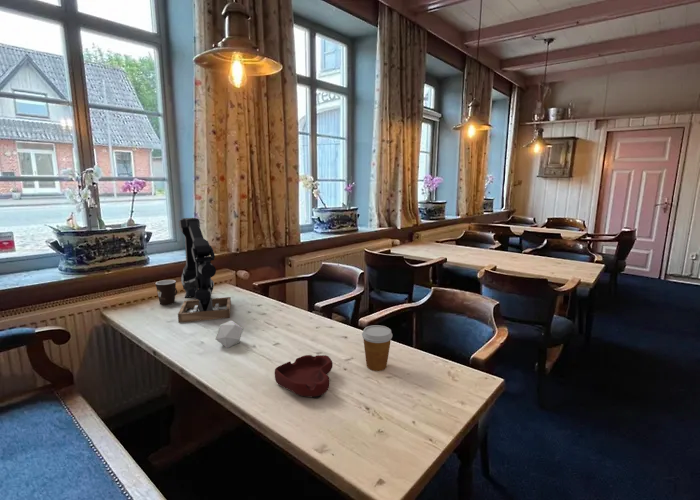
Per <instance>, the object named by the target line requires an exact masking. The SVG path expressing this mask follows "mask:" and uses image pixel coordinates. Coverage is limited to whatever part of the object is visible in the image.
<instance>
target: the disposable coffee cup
mask: <svg viewBox="0 0 700 500" xmlns="http://www.w3.org/2000/svg"><path fill="white" fill-rule="evenodd" d="M361 336H362V337H361V338H362V339H363V345H364V355H365V363H366V364H365V365H366V368H367V369H368V370H370V371H372V372H382V371H385V370H386V369H387V367H388V361H389V353H390V349H391V348H390V347H391V342H392V339H393V333H392V329H391V328H389V327H387V326H385V325H379V324H377V325H368V326H366V327H365V328H364V329H363V331H362V332H361Z"/></svg>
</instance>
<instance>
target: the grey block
mask: <svg viewBox="0 0 700 500" xmlns="http://www.w3.org/2000/svg"><path fill="white" fill-rule="evenodd" d="M212 299H213V298H212V297H211V298H210V301H209V304H208V308H207V311H212V310H214V309H213V305H212ZM201 311H204V310H203V308H202V305H201V302H200V300H199V308H198V312H201Z"/></svg>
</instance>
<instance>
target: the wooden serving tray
mask: <svg viewBox="0 0 700 500" xmlns="http://www.w3.org/2000/svg"><path fill="white" fill-rule="evenodd" d="M212 305H213V307H214V309H213V310H212V311H201V312H199V300H198V299H190V300H184V301H183V303H182V305H181V307H180V309H179V311H178V313H177V320H178V323H187V322H198V321H199V322H200V321H209V320H220V319H221V320H222V319H230V317H231V306H232V299H231V297H230V296H228V297H217V298H215V297H214V298H212ZM224 306H226V308H224V309H220V307H224ZM188 309H193V310H192V312H191V311H190V312H187V310H188Z"/></svg>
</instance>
